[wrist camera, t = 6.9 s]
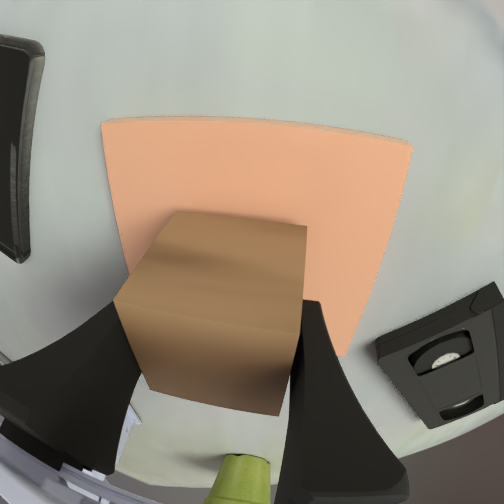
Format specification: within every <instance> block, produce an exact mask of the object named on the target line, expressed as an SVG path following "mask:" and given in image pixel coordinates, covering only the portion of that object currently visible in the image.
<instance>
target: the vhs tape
mask: <svg viewBox="0 0 504 504" xmlns="http://www.w3.org/2000/svg"><path fill="white" fill-rule="evenodd" d="M376 349H377V359H378V363H379V365H380V366H381V367H382V369H383V370H384V371H385V372H386V374H387V375H388V376H389V378H390V379H391V380H392V381H393V383H394V384H395V385H396V387H397V388H398V389H399V391H400V392H401V393H402V395H403V396H404V397H405V398H406V400H407V401H408V402H409V404H410V405H411V406H412V408H413V409H414V410H415V412H416V413H417V414H418V416H419V417H420V418H421V420H422V421H423V422H424V424H425V425H426V426H427V428H428V429H433V428H436V427H439V426H442V425H445V424H447V423H450V422H453V421H455V420H458V419H460V418H463V417H465V416H468V415H470V414H472V413H475V412H477V411H479V410H482V409H484V408H486V407H488V406H490V405H492V404H496V403H498V402H500V401H502V400H504V298H503V297H502V295H501V293H500V291H499V289H498V287H497V285H496V284H495V282H492V283H490V284H488V285H487V286H485V287H483V288H481V289H480V290H479V291H476V292H474V293H472V294H470V295H468V296H466V297H464V298H462V299H461V300H459V301H457V302H455V303H453V304H451V305H449V306H447V307H445V308H443V309H441V310H439V311H436V312H434V313H432V314H430V315H428V316H426V317H424V318H421V319H419V320H417V321H415V322H413V323H410V324H408V325H406V326H403V327H401V328H399V329H396V330H394V331H392V332H389V333H387V334H385V335H382V336H380V337H378V338H377V339H376ZM410 354H411V360H412V366H413V367H412V366H411V364H410V362H409V361H408V357H409V355H410Z"/></svg>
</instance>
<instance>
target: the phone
mask: <svg viewBox="0 0 504 504" xmlns="http://www.w3.org/2000/svg"><path fill="white" fill-rule="evenodd" d="M44 64H45V52H44V49H43V47H42V45H41V44H40V43H39V42H37V41H35V40H30V39H25V38H20V37H14V36H9V35H3V34H0V251H1V252H3V253H4V254H5V255H7V256H8V257H9V258H11V259H12V260H13V261H15V262H17V263H19V264H21V263H23V262H24V261H25V260H26V259H27V258H28V257H29V256H30V253H31V249H30V232H29V176H30V158H31V146H32V136H33V127H34V119H35V112H36V106H37V100H38V94H39V89H40V84H41V79H42V74H43V69H44Z"/></svg>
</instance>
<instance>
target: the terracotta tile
mask: <svg viewBox="0 0 504 504" xmlns="http://www.w3.org/2000/svg"><path fill="white" fill-rule="evenodd" d="M101 130H102V138H103V146H104V153H105V160H106V167H107V173H108V179H109V185H110V190H111V196H112V201H113V206H114V211H115V216H116V221H117V226H118V230H119V235H120V239H121V244H122V248H123V252H124V256H125V260H126V264H127V268H128V272H129V276H130V274H131V273H132V271H133V270H134V268H135V267H136V265H137V264H138V263H139V261H140V260H141V258H142V257H143V256H144V254H145V253H146V251H147V250H148V249H149V247H150V246H151V245H152V243H153V242H154V240H155V239H156V238H157V236H158V235H159V234H160V232H161V231H162V230H163V228H164V227H165V226H166V224H167V223H168V222H169V220H170V219H171V218H172V216H173V215H174V214H175V212H176V211H181V212H191V213H201V214H210V215H220V216H229V217H238V218H246V219H255V220H263V221H272V222H280V223H288V224H296V225H304V226H307V243H306V259H305V275H304V289H303V299H305V300H313V301H319V302H320V303H321V307H322V312H323V316H324V320H325V323H326V327H327V330H328V333H329V336H330V339H331V342H332V344H333V347H334V350H335V352H336V355H337V356H342V357H344V356H345V354H346V352H347V349H348V347H349V345H350V343H351V340H352V338H353V336H354V333H355V331H356V328H357V326H358V324H359V321H360V319H361V316H362V314H363V311H364V309H365V306H366V303H367V301H368V298H369V296H370V293H371V290H372V288H373V285H374V282H375V279H376V276H377V274H378V271H379V268H380V265H381V262H382V259H383V256H384V253H385V250H386V247H387V244H388V241H389V238H390V234H391V231H392V228H393V225H394V221H395V218H396V214H397V211H398V207H399V204H400V200H401V196H402V193H403V189H404V185H405V181H406V177H407V173H408V169H409V165H410V160H411V156H412V151H413V146H412V145H411V144H410V143H409V142H408V141H405V140H400V139H396V138H391V137H386V136H381V135H376V134H371V133H366V132H360V131H354V130H348V129H342V128H335V127H329V126H321V125H314V124H306V123H297V122H288V121H277V120H266V119H252V118H235V117H208V116H162V117H135V118H118V119H110V120H108V121H106V122H104V123H101Z"/></svg>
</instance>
